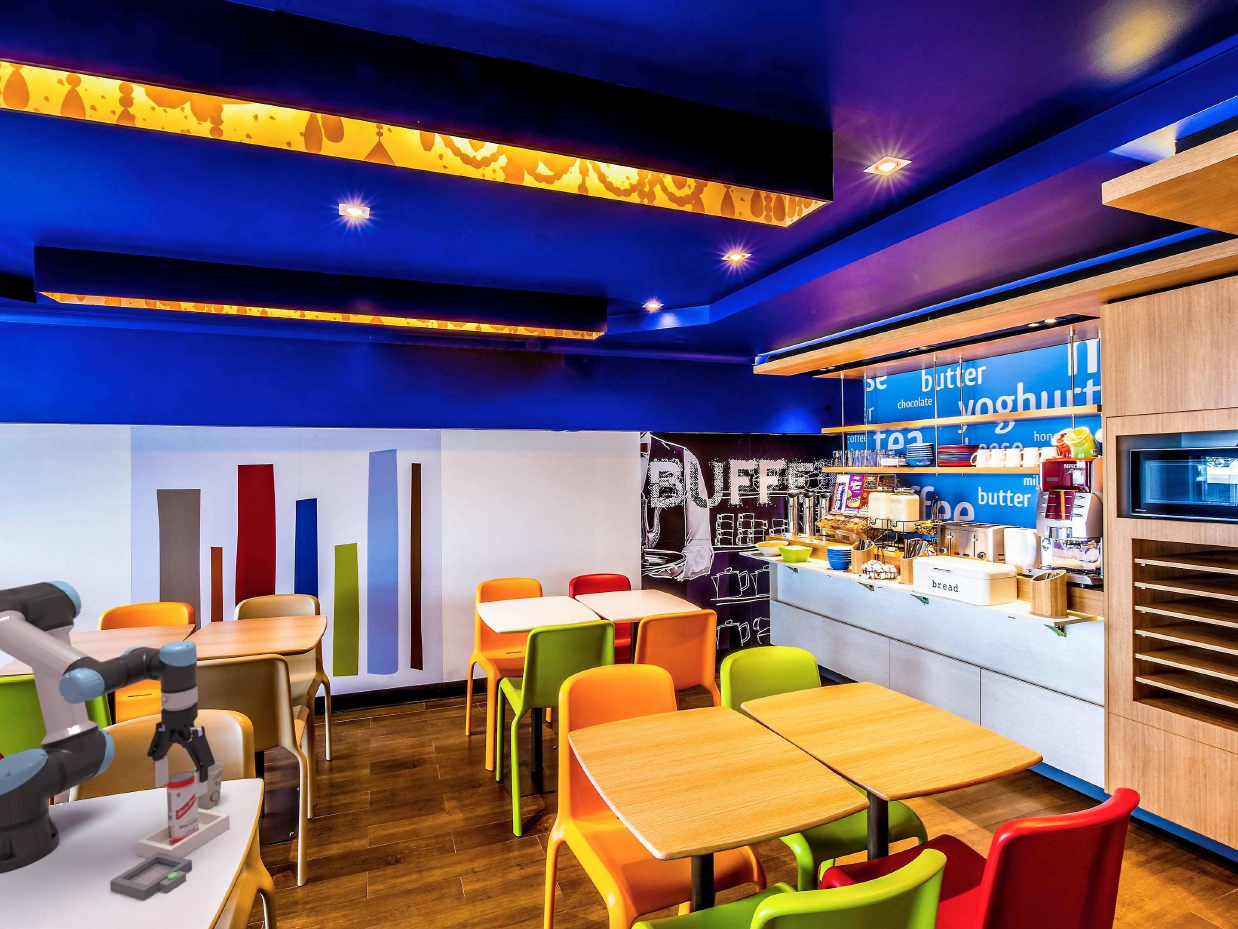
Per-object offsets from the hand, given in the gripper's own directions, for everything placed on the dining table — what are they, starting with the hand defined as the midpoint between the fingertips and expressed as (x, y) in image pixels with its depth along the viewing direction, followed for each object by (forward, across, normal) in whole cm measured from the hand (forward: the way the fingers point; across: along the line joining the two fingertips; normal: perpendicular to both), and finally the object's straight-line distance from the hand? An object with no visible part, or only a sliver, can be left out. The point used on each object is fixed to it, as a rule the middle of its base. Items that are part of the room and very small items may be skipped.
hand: (181, 789), depth 162 cm
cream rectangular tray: (+13, +1, 0) cm, 13 cm away
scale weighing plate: (+14, +8, -13) cm, 20 cm away
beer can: (+13, +1, 0) cm, 13 cm away
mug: (+14, -12, +14) cm, 23 cm away
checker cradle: (+13, +9, -13) cm, 20 cm away
